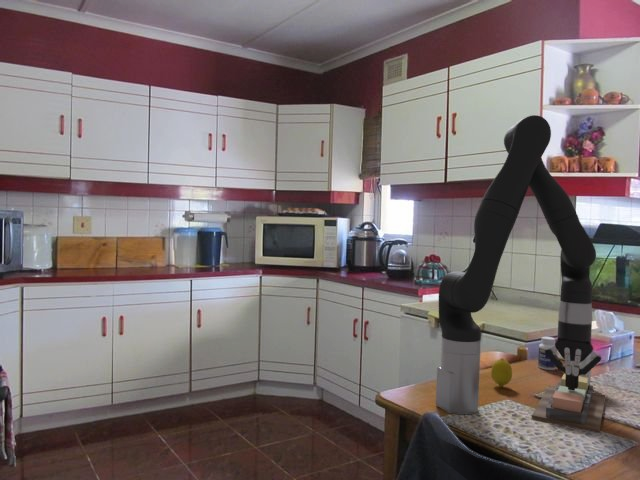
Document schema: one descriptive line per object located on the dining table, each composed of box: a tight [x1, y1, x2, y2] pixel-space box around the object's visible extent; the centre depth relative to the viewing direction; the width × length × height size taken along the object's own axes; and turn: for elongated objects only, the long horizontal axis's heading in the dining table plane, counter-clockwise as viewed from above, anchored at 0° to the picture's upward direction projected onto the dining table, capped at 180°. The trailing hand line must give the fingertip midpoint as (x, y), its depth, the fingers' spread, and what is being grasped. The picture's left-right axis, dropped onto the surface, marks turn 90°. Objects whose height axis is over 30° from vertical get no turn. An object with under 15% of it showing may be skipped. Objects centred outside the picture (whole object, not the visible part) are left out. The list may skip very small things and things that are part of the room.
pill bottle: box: [537, 336, 558, 371], centre depth 169 cm, size 5×5×10 cm
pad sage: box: [558, 386, 586, 402], centre depth 132 cm, size 6×6×3 cm
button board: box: [531, 379, 606, 433], centre depth 132 cm, size 28×14×3 cm, turn 149°
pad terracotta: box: [552, 391, 583, 413], centre depth 124 cm, size 6×6×3 cm
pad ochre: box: [560, 373, 589, 392], centre depth 140 cm, size 6×6×3 cm
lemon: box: [490, 357, 513, 388], centre depth 148 cm, size 6×6×8 cm
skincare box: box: [572, 354, 592, 385], centre depth 148 cm, size 6×4×12 cm
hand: (571, 389), depth 132 cm, fingers closed
